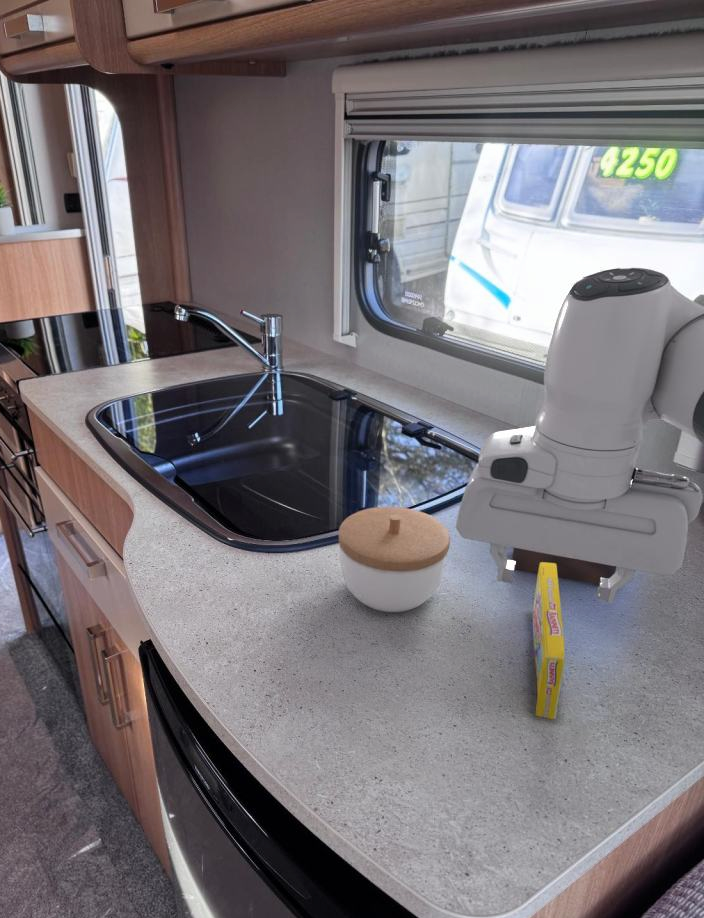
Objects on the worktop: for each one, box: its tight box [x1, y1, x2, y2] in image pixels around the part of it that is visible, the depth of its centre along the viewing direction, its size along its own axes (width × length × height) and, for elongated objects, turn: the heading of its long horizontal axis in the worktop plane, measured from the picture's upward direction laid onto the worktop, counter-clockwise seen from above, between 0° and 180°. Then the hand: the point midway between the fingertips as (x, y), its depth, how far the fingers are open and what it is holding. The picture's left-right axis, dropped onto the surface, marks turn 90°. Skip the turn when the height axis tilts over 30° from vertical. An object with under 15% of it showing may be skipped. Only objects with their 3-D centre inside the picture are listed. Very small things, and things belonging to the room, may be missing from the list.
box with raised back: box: [511, 547, 617, 586], centre depth 98 cm, size 12×26×10 cm, turn 161°
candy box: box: [531, 562, 566, 720], centre depth 74 cm, size 16×2×8 cm, turn 167°
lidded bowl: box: [338, 506, 451, 613], centre depth 84 cm, size 13×13×11 cm
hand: (553, 589), depth 71 cm, fingers open, 8 cm apart
